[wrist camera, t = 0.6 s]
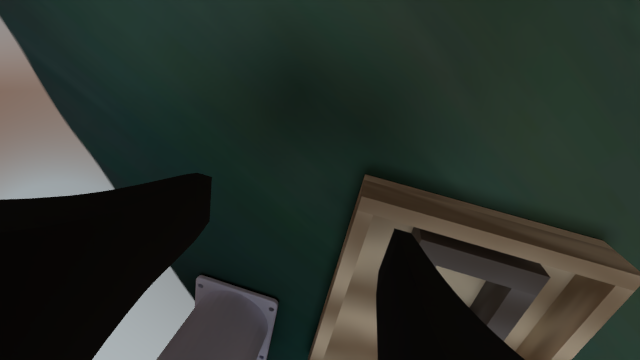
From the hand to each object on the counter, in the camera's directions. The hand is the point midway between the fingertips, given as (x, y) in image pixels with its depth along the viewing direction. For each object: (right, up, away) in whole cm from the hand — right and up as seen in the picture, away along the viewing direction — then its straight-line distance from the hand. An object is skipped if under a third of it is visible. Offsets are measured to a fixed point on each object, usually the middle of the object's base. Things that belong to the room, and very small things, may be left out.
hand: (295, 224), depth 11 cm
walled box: (+10, -9, +13) cm, 18 cm away
